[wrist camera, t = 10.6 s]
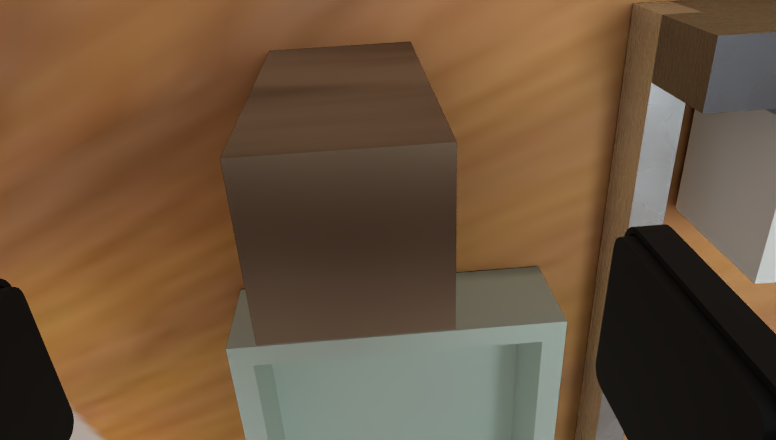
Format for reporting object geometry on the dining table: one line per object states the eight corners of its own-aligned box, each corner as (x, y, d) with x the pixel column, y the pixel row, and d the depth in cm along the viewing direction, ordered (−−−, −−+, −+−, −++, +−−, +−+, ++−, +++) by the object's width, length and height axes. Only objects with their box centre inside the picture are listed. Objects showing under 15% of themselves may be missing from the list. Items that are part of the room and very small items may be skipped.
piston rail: (803, 425, 29) (885, 519, 25) (573, 446, 29) (615, 545, 25) (971, -18, 20) (1150, 7, 15) (633, 3, 19) (718, 35, 15)
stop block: (414, 170, 22) (455, 329, 14) (287, 179, 22) (256, 345, 14) (410, 41, 20) (456, 142, 12) (269, 50, 19) (220, 159, 12)
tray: (522, 469, 29) (543, 537, 26) (280, 491, 29) (273, 562, 26) (538, 266, 24) (567, 321, 21) (240, 289, 24) (225, 349, 20)
